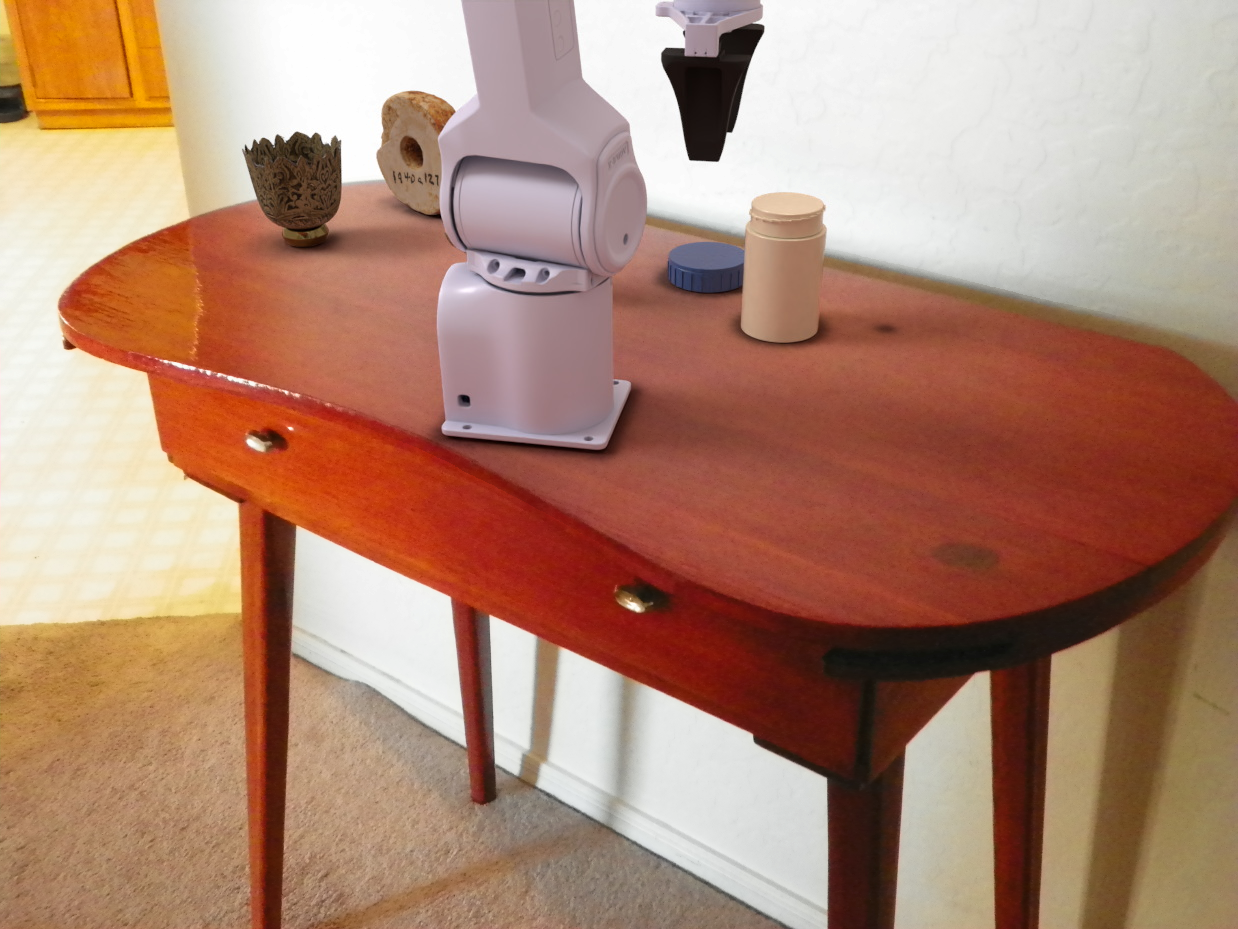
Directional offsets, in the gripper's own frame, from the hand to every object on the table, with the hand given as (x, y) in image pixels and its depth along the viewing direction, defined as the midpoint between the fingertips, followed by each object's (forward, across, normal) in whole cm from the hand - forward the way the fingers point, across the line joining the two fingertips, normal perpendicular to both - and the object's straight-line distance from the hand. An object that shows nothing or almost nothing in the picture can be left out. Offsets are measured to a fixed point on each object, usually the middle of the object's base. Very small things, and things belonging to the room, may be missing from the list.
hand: (711, 144), depth 80 cm
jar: (+10, +8, +6) cm, 14 cm away
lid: (+8, 0, 0) cm, 8 cm away
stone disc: (+10, -12, -26) cm, 30 cm away
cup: (+10, -2, -33) cm, 35 cm away
